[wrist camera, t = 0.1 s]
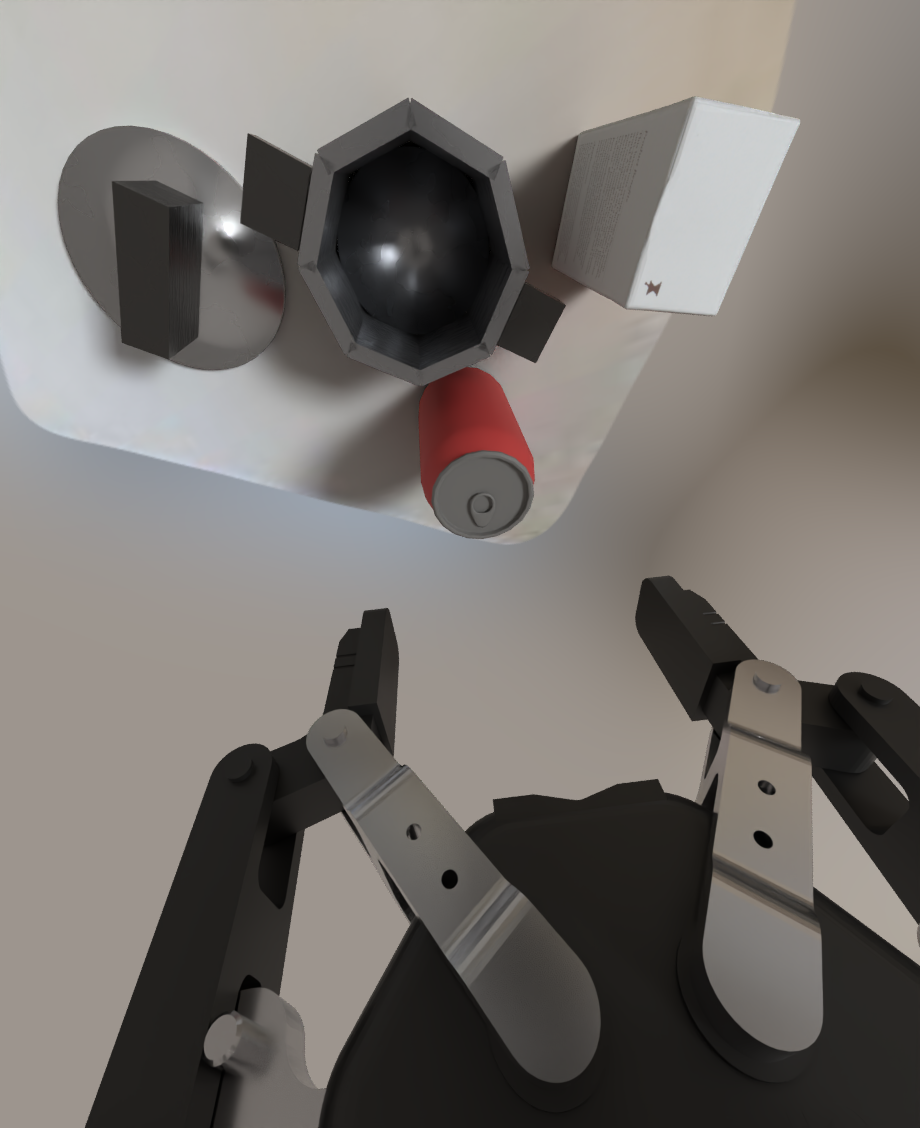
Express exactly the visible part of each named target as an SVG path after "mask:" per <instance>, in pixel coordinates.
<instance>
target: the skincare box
mask: <svg viewBox="0 0 920 1128" xmlns="http://www.w3.org/2000/svg"><path fill="white" fill-rule="evenodd" d="M799 124H800V120H799V119H797V118H793V117H789V116H784V115H780V114H775V113H771V112H767V111H762V110H758V109H753V108H749V107H745V106H740V105H735V104H731V103H726V102H721V101H716V100H712V99H706V98H701V97H691V98H688V99H685V100H683V101H680V102H677V103H674V104H671V105H669V106H665V107H662V108H659V109H655V110H653V111H650V112H646V113H643V114H640V115H636V116H633V117H630V118H626V119H623V120H620V121H616V122H613V123H609V124H606V125H603V126H600V127H596V128H593V129H589V130H586V131H583V132H581V133H580V134H579V136H578V140H577V146H576V151H575V155H574V160H573V165H572V170H571V174H570V179H569V184H568V189H567V194H566V198H565V203H564V208H563V214H562V218H561V223H560V228H559V233H558V238H557V243H556V247H555V252H554V257H553V262H552V267H553V268H554V269H556V270H558V271H559V272H561V273H563V274H565V275H567V276H569V277H571V278H572V279H574V280H575V281H577V282H579V283H581V284H583V285H584V286H586V287H588V288H590V289H592V290H593V291H595V292H597V293H599V294H600V295H603V296H605V297H606V298H608V299H611V300H612V301H614V302H615V303H617V304H619V305H620V306H622V307H623V308H625V309H630V310H644V311H657V312H669V313H680V314H681V313H682V314H692V315H703V316H715V315H716V314H717V312H718V310H719V307H720V305H721V303H722V301H723V298H724V296H725V294H726V291H727V289H728V287H729V284H730V282H731V280H732V278H733V275H734V273H735V271H736V269H737V266H738V264H739V262H740V259H741V257H742V255H743V252H744V250H745V248H746V245H747V243H748V241H749V238H750V236H751V234H752V231H753V229H754V227H755V224H756V222H757V220H758V217H759V215H760V213H761V210H762V208H763V206H764V203H765V201H766V199H767V196H768V194H769V192H770V190H771V187H772V185H773V183H774V181H775V179H776V176H777V174H778V172H779V169H780V167H781V165H782V162H783V160H784V157H785V155H786V153H787V151H788V149H789V147H790V144H791V142H792V140H793V138H794V135H795V133H796V131H797V129H798V127H799Z"/></svg>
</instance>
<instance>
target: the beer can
mask: <svg viewBox="0 0 920 1128" xmlns="http://www.w3.org/2000/svg"><path fill="white" fill-rule="evenodd" d="M418 418H419V443H420V468H421V483H422V487H423V490H424V494H425V497H426V499H427V501H428V503H429V504H430V506H431V507H432V509H433V510H434V514H435V516H436V517H437V519H438V520H439V522H440V523H441V524H442V526H443V527H445V528H446V529H448V530H449V531H451V532H452V533H454V534H456V535H459V536H462V537H465V538H473V539H485V538H490V537H495V536H498V535H500V534H502V533H505V532H507V531H509V530H511V529H512V528H513V527H514V526H516V525H517V524H518V523H519V522H521V521H522V520H523V518H524V517H525V515H526V514H527V512H528V511H529V509H530V507H531V503H532V500H533V497H534V490H533V484H534V481H535V478H534V461H533V457H532V454H531V452H530V450H529V448H528V445H527V443H526V441H525V439H524V436H523V434H522V432H521V430H520V427H519V425H518V423H517V421H516V418H515V416H514V414H513V412H512V409H511V407H510V405H509V403H508V400H507V398H506V396H505V394H504V392H503V389H502V387H501V385H500V384H499V383H498V382H497V381H496V380H495V379H494V378H493V377H492V376H491V375H490V374H488V373H486V372H484V371H482V370H480V369H478V368H471V367H465V368H463V369H460V370H458V371H456V372H454V373H451V374H449V375H447V376H444V377H442V378H440V379H437V380H435V381H433V382H431V383H430V384H429V385H428V386H427V387H426V388H425V390H424V393H423V395H422V397H421V400H420V402H419V416H418Z"/></svg>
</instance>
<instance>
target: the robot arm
mask: <svg viewBox="0 0 920 1128" xmlns="http://www.w3.org/2000/svg"><path fill="white" fill-rule="evenodd" d="M635 620H636V627H637V630H638V633H639V635H640V637H641V638H642V640H643V642H644V643H645V645H646V646H647V648H648V650H649V651H650V653H651V655H652V656H653V658H654V660H655V661H656V663H657V665H658V666H659V668H660V669H661V671H662V673H663V674H664V676H665V677H666V679H667V681H668V683H669V684H670V686H671V687H672V689H673V691H674V692H675V694H676V696H677V697H678V699H679V700H680V702H681V704H682V705H683V707H684V709H685V710H686V712H687V714H688V715H689V717H690V718H691V720H692V721H698V720H707V719H708V720H709V722H710V723H711V725H712V729H711V731H710V735H709V740H708V745H707V751H706V756H705V761H704V766H703V772H702V777H701V782H700V787H699V791H698V794H697V798H696V801H695V802H693V801H691V800H689V799H686V798H683V797H681V796H678V795H674V794H670V793H664V791H663V789H662V787H661V785H660V783H659V781H658V779H655V780H646V781H638V782H630V783H622V784H616V785H614V786H612V787H610V788H607V789H605V790H603V791H600V792H598V793H596V794H594V795H591V796H589V797H587V798H584V799H582V800H569V799H563V798H555V797H548V796H541V795H526V796H518V797H509V798H502V799H493V805H494V812H493V813H491V814H488V815H486V816H484V817H483V818H481V819H480V820H478V821H476V822H475V823H474V824H473V825H472V826H470V827H469V828H468V829H467V830H466V831H464V830H463V829H462V828H461V827H460V825H459V824H458V823H457V822H456V821H455V820H454V818H453V817H452V816H451V815H450V814H449V812H448V811H447V810H446V809H445V808H444V807H443V805H442V804H441V803H440V802H439V801H438V800H437V798H436V797H435V796H434V795H433V794H432V793H431V791H430V790H429V789H428V788H427V787H426V786H425V784H424V783H423V782H422V781H421V780H420V779H419V777H418V776H417V775H416V774H415V773H414V772H413V771H412V770H411V768H409V767H408V766H407V765H403V766H401V765H400V764H399V763H398V762H397V761H396V760H395V759H394V742H395V740H394V739H395V723H396V705H397V688H398V670H399V652H398V645H397V640H396V636H395V632H394V627H393V623H392V619H391V615H390V612H389V609H388V608H384V609H375V610H367V611H364V613H363V618H362V624H361V628H355V629H348V631H347V632H346V634H345V635H344V636H343V638H342V639H341V640H340V642H339V646H338V650H337V655H336V657H337V658H336V659H335V664H334V670H333V673H332V677H331V682H330V686H329V691H328V695H327V700H326V704H325V709H324V713H323V716H321V717H320V718H319V719H318V720H317V721H316V722H315V723H314V724H313V725H312V726H311V728H310V730H309V732H308V734H307V735H305V736H304V737H302V738H301V739H299V740H297V741H295V742H292V743H290V744H287V745H285V746H283V747H280V748H278V749H275V750H273V751H269V749H268V748H267V747H265V746H264V745H261V744H247V745H244V746H241V747H239V748H237V749H235V750H233V751H231V752H230V753H229V754H227V755H226V756H225V757H224V758H223V759H222V760H221V761H220V762H219V763H218V764H217V766H216V767H215V769H214V771H213V772H212V775H211V777H210V780H209V783H208V786H207V788H206V791H205V794H204V797H203V800H202V802H201V805H200V808H199V811H198V814H197V816H196V819H195V822H194V824H193V828H192V830H191V833H190V836H189V838H188V841H187V844H186V847H185V850H184V853H183V855H182V858H181V861H180V864H179V866H178V869H177V872H176V875H175V877H174V880H173V883H172V886H171V889H170V892H169V895H168V897H167V900H166V903H165V906H164V908H163V911H162V914H161V917H160V919H159V922H158V925H157V928H156V931H155V933H154V936H153V939H152V942H151V945H150V947H149V950H148V953H147V956H146V958H145V962H144V964H143V967H142V970H141V972H140V975H139V978H138V981H137V984H136V986H135V989H134V992H133V995H132V997H131V1000H130V1003H129V1006H128V1009H127V1011H126V1014H125V1017H124V1020H123V1023H122V1025H121V1028H120V1031H119V1034H118V1037H117V1039H116V1042H115V1045H114V1048H113V1050H112V1053H111V1056H110V1059H109V1062H108V1064H107V1067H106V1070H105V1073H104V1076H103V1078H102V1081H101V1084H100V1087H99V1089H98V1092H97V1095H96V1098H95V1101H94V1104H93V1106H92V1109H91V1112H90V1115H89V1117H88V1120H87V1123H86V1126H85V1128H920V966H919V965H918V964H917V963H915V962H914V961H913V960H911V959H910V958H909V957H907V956H906V955H904V954H903V953H901V952H900V951H899V950H897V949H896V948H895V947H894V946H892V945H891V944H890V943H888V942H887V941H886V940H884V939H883V938H882V937H880V936H879V935H877V934H876V933H875V932H873V931H872V930H871V929H870V928H868V927H867V926H865V925H864V924H863V923H861V922H860V921H859V920H857V919H856V918H855V917H853V916H852V915H851V914H849V913H848V912H846V911H845V910H844V909H842V908H841V907H840V906H839V905H837V904H836V903H834V902H833V901H832V900H830V899H829V898H828V897H826V896H825V895H824V894H822V893H821V892H820V891H818V890H817V889H816V888H814V887H813V849H812V848H813V846H812V777H813V778H814V779H815V781H816V782H817V784H818V785H819V786H820V788H821V789H822V790H823V792H824V793H825V795H826V796H827V798H828V799H829V800H830V802H831V803H832V805H833V806H834V807H835V809H836V810H837V812H838V813H839V814H840V816H841V817H842V818H843V820H844V821H845V823H846V824H847V825H848V827H849V828H850V830H851V831H852V833H853V834H854V835H855V837H856V838H857V840H858V841H859V842H860V844H861V845H862V847H863V848H864V849H865V851H866V852H867V853H868V855H869V856H870V858H871V859H872V861H873V862H874V863H875V865H876V866H877V867H878V869H879V870H880V872H881V873H882V875H883V876H884V877H885V879H886V880H887V882H888V883H889V884H890V886H891V887H892V889H893V890H894V891H895V893H896V894H897V896H898V897H899V898H900V899H901V901H902V902H903V904H904V905H905V907H906V908H907V909H908V911H909V912H910V914H911V915H912V917H913V918H914V919H915V921H916V922H917V924H918V925H919V926H918V930H917V939H918V943H919V947H920V707H919V706H918V705H917V704H916V703H915V702H914V701H913V700H912V699H910V697H909V696H907V694H905V693H904V692H903V691H902V690H901V689H900V688H898V687H897V686H895V685H894V684H892V683H890V682H888V681H886V680H884V679H882V678H880V677H877V676H874V675H871V674H866V673H861V672H850V673H845V674H843V675H841V676H840V677H839V679H838V680H837V682H836V683H835V685H827V684H820V683H813V682H805V681H799V680H797V679H796V678H795V677H794V676H793V675H792V674H791V673H790V672H788V671H787V670H786V669H784V668H782V667H781V666H778V665H776V664H774V663H771V662H768V661H764V660H758V659H757V658H756V656H755V655H754V654H753V653H752V652H751V651H750V650H749V648H747V646H746V645H745V644H744V643H743V642H742V640H741V639H740V638H739V637H738V636H737V635H736V634H735V632H734V631H733V630H732V629H731V628H730V627H729V626H728V624H725V621H724V620H723V619H722V618H721V617H720V615H719V614H716V611H715V610H714V609H713V607H712V606H711V605H710V604H709V603H708V602H707V601H706V600H705V599H704V598H702V597H701V596H699V595H697V594H696V593H694V592H693V591H691V590H683V589H682V588H681V587H680V586H679V584H678V583H677V582H676V581H675V579H674V578H673V577H671V576H662V577H653V578H646V579H644V580H643V582H642V585H641V590H640V595H639V600H638V605H637V610H636V616H635ZM876 758H878V759H879V761H880V762H881V763H882V764H883V765H884V766H885V768H886V769H887V770H888V771H889V772H890V773H891V774H892V775H893V777H894V778H895V779H896V780H897V781H898V782H899V783H900V785H901V786H902V787H903V789H904V790H905V792H906V794H907V796H908V799H909V801H908V800H907V799H906V798H905V797H904V796H903V794H902V793H901V792H900V791H899V790H898V788H897V787H896V786H895V785H894V784H893V783H892V781H891V780H890V779H889V778H888V777H887V776H886V774H885V773H884V772H883V771H882V770H881V769H880V768H879V766H878V765H877V764H876V763H875V762H874V761H875V760H876ZM339 812H340V813H341V814H342V816H343V817H344V819H345V820H346V822H347V824H348V825H349V827H350V828H351V830H352V832H353V833H354V835H355V836H356V838H357V839H358V841H359V843H360V844H361V846H362V847H363V849H364V851H365V852H366V854H367V855H368V856H369V858H370V860H371V862H372V863H373V865H374V866H375V868H376V870H377V871H378V873H379V875H380V877H381V879H382V880H383V882H384V884H385V886H386V887H387V889H388V890H389V892H390V894H391V895H392V897H393V898H394V900H395V902H396V903H397V905H398V906H399V908H400V910H401V911H402V913H403V914H404V916H405V918H406V919H407V921H408V922H409V924H410V926H409V928H408V930H407V931H406V933H405V935H404V937H403V939H402V941H401V943H400V944H399V946H398V948H397V950H396V952H395V953H394V955H393V957H392V959H391V961H390V963H389V964H388V967H387V968H386V970H385V972H384V974H383V976H382V977H381V979H380V981H379V983H378V985H377V986H376V988H375V990H374V992H373V994H372V996H371V997H370V999H369V1001H368V1003H367V1005H366V1006H365V1008H364V1010H363V1012H362V1014H361V1016H360V1017H359V1019H358V1021H357V1023H356V1025H355V1027H354V1028H353V1030H352V1032H351V1034H350V1036H349V1037H348V1039H347V1041H346V1043H345V1045H344V1047H343V1049H342V1050H341V1052H340V1054H339V1056H338V1059H337V1061H336V1063H335V1066H334V1068H333V1071H332V1073H331V1076H330V1079H329V1082H328V1085H327V1088H324V1089H318V1088H317V1087H316V1086H315V1085H314V1083H313V1082H312V1080H311V1078H310V1076H309V1074H308V1070H307V1066H306V1061H305V1032H304V1026H303V1022H302V1019H301V1017H300V1015H299V1013H298V1012H297V1010H296V1009H295V1008H294V1007H293V1006H291V1005H290V1004H289V1003H287V1002H286V1001H285V1000H283V999H282V998H281V997H279V994H280V988H281V981H282V975H283V968H284V962H285V954H286V948H287V942H288V935H289V928H290V922H291V915H292V909H293V902H294V896H295V890H296V883H297V877H298V870H299V864H300V857H301V851H302V844H303V837H304V831H305V829H306V828H308V827H310V826H312V825H314V824H316V823H318V822H320V821H322V820H324V819H326V818H329V817H331V816H332V815H335V814H337V813H339Z"/></svg>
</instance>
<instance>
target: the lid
mask: <svg viewBox="0 0 920 1128" xmlns="http://www.w3.org/2000/svg"><path fill="white" fill-rule="evenodd" d="M242 195H243V188H242V187H241V186H240V184H239V183H238V182H237V181H236V180H235V179H234V178H233V177H232V176H231V175H230V174H229V173H228V172H227V171H226V170H225V169H224V168H223V167H222V166H221V165H220V164H218V163H217V162H216V161H215V160H214V159H212V158H211V157H210V156H208V155H207V154H205V153H204V152H203V151H201V150H200V149H198V148H196V147H195V146H193V145H191V144H190V143H188V142H186V141H184V140H182V139H180V138H178V137H175V136H173V135H171V134H168V133H165V132H161V131H158V130H154V129H150V128H144V127H136V126H116V127H111V128H107V129H103V130H100V131H98V132H96V133H94V134H92V135H90V136H88V137H87V138H86V139H84V140H83V141H82V142H81V143H80V144H78V145H77V147H76V148H75V149H74V150H73V152H72V153H71V154H70V156H69V157H68V160H67V162H66V164H65V166H64V168H63V171H62V175H61V179H60V183H59V192H58V209H59V219H60V224H61V229H62V234H63V237H64V240H65V243H66V247H67V250H68V252H69V254H70V257H71V259H72V261H73V264H74V266H75V268H76V270H77V271H78V273H79V275H80V277H81V279H82V281H83V282H84V284H85V285H86V287H87V288H88V290H89V291H90V293H91V294H92V296H93V297H94V298H95V300H96V301H97V302H98V303H99V305H100V306H101V307H102V309H103V310H104V311H105V312H106V313H107V314H108V315H109V316H110V317H111V318H112V319H113V321H114V322H115V323H117V324H118V325H119V326H120V327H121V336H122V343H124V344H127V345H130V346H133V347H136V348H138V349H141V350H144V351H147V352H150V353H152V354H155V355H158V356H161V357H164V358H166V359H169V360H172V361H174V362H177V363H180V364H183V365H186V366H190V367H194V368H200V369H209V370H220V369H229V368H233V367H237V366H240V365H243V364H245V363H247V362H249V361H251V360H252V359H254V358H256V357H257V356H258V355H259V354H260V353H262V352H263V351H264V350H265V348H266V347H267V346H268V345H269V344H270V342H271V341H272V340H273V338H274V336H275V335H276V333H277V331H278V329H279V326H280V323H281V321H282V317H283V312H284V306H285V280H284V273H283V267H282V263H281V259H280V256H279V252H278V249H277V246H276V244H275V241H274V239H272V238H270V237H268V236H266V235H264V234H262V233H259V232H257V231H255V230H253V229H251V228H249V227H247V226H245V225H243V224H240V218H241V206H242Z"/></svg>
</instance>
